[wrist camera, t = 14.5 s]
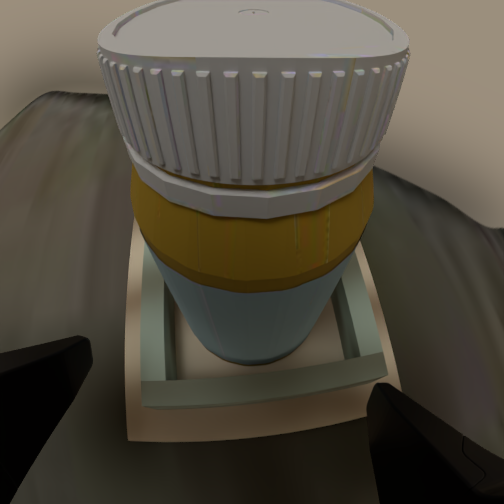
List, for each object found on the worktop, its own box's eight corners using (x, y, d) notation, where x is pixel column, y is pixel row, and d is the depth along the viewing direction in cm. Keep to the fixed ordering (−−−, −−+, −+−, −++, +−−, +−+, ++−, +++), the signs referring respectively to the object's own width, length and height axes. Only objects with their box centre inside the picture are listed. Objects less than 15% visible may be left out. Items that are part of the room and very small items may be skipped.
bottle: (173, 350, 16) (-2, 95, 3) (210, 244, 20) (171, -13, 7) (301, 380, 15) (493, 141, 2) (320, 267, 19) (399, 8, 6)
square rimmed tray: (399, 405, 15) (426, 399, 12) (132, 440, 14) (108, 441, 11) (341, 199, 22) (350, 169, 20) (137, 218, 22) (124, 188, 19)
